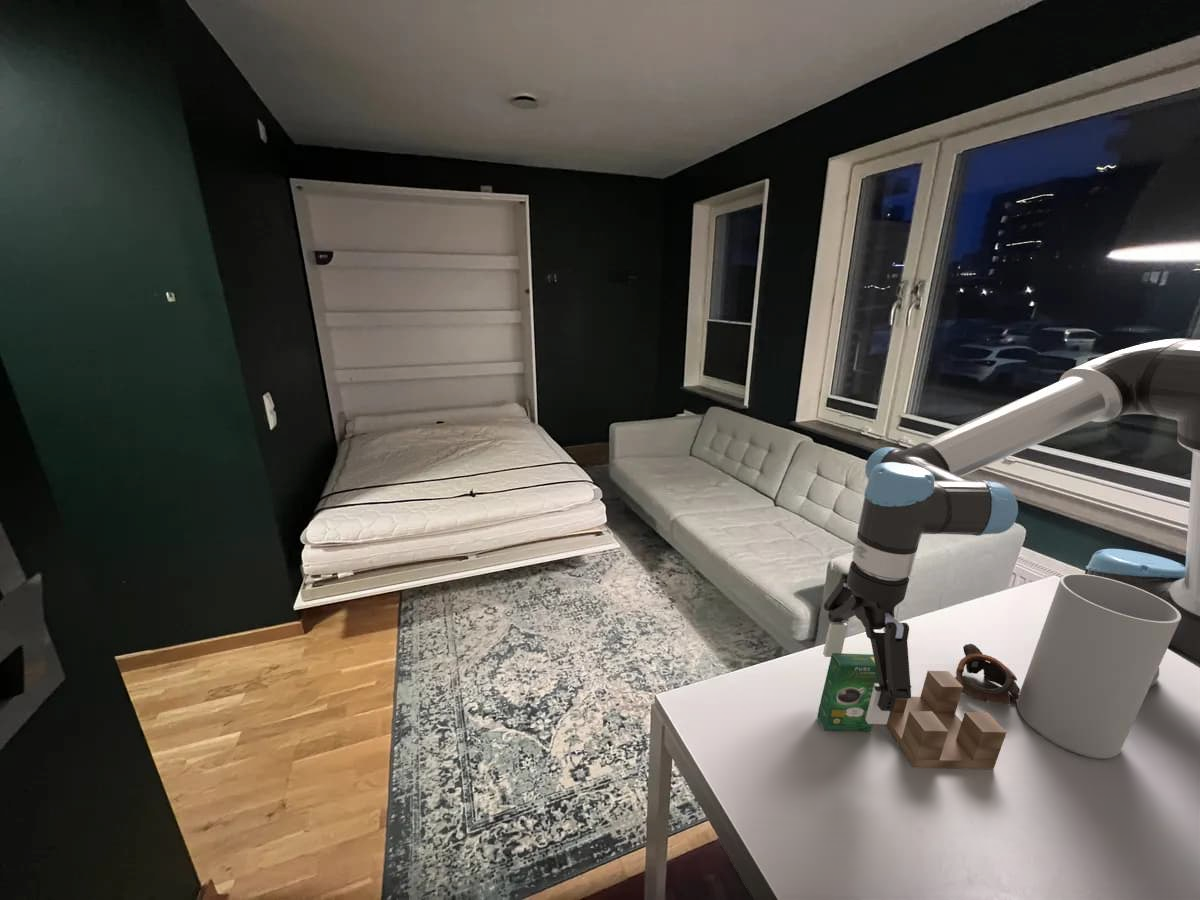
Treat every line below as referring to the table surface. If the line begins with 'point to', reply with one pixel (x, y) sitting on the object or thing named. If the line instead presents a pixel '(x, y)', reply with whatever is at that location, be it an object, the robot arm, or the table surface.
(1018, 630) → the table surface
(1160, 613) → the cylinder vase
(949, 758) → the walnut cross socket
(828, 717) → the coffee box
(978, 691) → the brown ring-shaped frame
